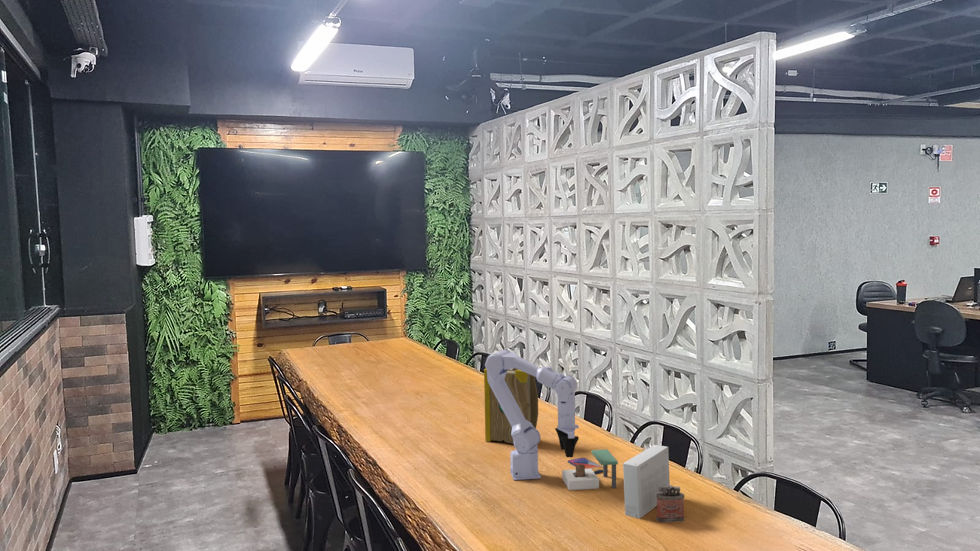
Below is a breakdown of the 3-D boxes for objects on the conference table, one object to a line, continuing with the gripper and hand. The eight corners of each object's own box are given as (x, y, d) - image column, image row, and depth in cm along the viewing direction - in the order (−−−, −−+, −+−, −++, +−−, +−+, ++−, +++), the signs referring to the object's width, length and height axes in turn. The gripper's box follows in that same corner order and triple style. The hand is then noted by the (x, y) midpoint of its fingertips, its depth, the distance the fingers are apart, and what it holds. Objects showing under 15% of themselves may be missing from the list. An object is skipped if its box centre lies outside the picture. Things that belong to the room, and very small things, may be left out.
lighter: (682, 516, 201) (682, 483, 200) (685, 521, 197) (686, 488, 197) (654, 517, 200) (654, 484, 200) (658, 522, 197) (658, 488, 196)
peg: (586, 484, 226) (585, 467, 226) (577, 485, 226) (577, 467, 225) (583, 481, 229) (583, 464, 229) (574, 482, 229) (574, 464, 228)
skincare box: (654, 492, 219) (654, 443, 218) (670, 496, 216) (670, 446, 215) (622, 514, 203) (622, 462, 202) (639, 519, 200) (639, 466, 198)
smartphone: (583, 459, 252) (583, 457, 252) (607, 472, 238) (607, 469, 238) (566, 463, 248) (566, 460, 248) (590, 476, 235) (589, 473, 235)
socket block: (568, 490, 222) (568, 481, 222) (562, 478, 232) (562, 470, 232) (599, 488, 223) (598, 479, 223) (591, 477, 233) (591, 468, 233)
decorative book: (482, 441, 273) (481, 367, 271) (495, 433, 283) (494, 361, 280) (528, 448, 264) (528, 371, 261) (540, 440, 274) (539, 366, 271)
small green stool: (601, 489, 222) (601, 462, 221) (591, 475, 234) (591, 450, 233) (617, 488, 223) (617, 461, 222) (607, 474, 235) (607, 449, 234)
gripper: (583, 418, 220) (584, 459, 222) (573, 406, 235) (573, 445, 236) (562, 419, 220) (562, 461, 221) (552, 407, 234) (553, 446, 235)
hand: (566, 453), depth 228 cm, fingers open, 7 cm apart
